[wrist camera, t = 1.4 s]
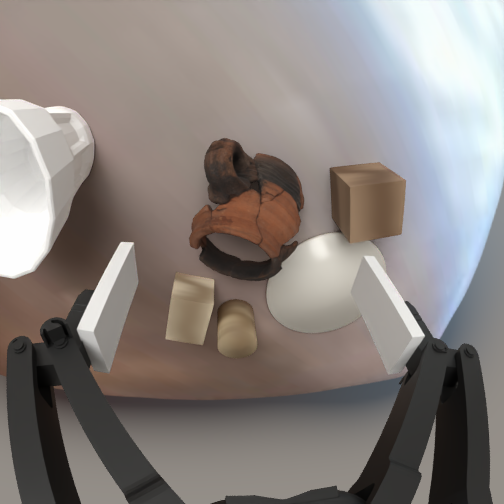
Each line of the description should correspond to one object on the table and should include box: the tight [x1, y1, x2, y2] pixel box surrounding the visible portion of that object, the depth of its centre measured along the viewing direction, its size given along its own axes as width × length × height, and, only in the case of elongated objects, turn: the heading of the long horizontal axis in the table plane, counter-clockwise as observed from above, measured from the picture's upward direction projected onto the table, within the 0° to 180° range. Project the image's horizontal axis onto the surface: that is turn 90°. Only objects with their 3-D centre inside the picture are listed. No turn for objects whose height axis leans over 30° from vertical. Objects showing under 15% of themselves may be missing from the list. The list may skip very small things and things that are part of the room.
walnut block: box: [330, 163, 406, 244], centre depth 25 cm, size 5×5×5 cm
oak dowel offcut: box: [218, 299, 257, 358], centre depth 31 cm, size 4×4×5 cm
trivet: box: [266, 232, 386, 333], centre depth 32 cm, size 14×14×1 cm
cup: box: [0, 99, 94, 279], centre depth 17 cm, size 12×12×11 cm
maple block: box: [165, 272, 214, 345], centre depth 30 cm, size 4×6×4 cm, turn 164°
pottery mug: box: [189, 138, 304, 281], centre depth 24 cm, size 12×10×8 cm
